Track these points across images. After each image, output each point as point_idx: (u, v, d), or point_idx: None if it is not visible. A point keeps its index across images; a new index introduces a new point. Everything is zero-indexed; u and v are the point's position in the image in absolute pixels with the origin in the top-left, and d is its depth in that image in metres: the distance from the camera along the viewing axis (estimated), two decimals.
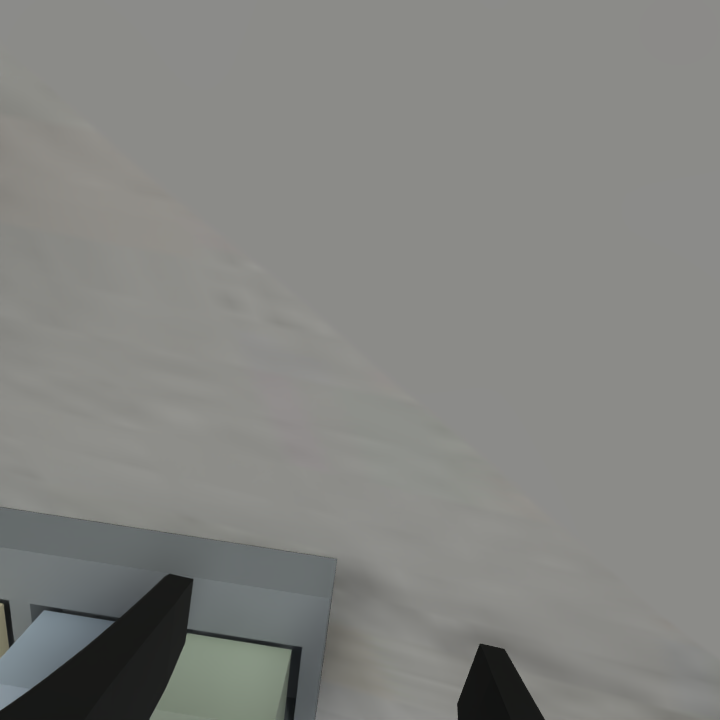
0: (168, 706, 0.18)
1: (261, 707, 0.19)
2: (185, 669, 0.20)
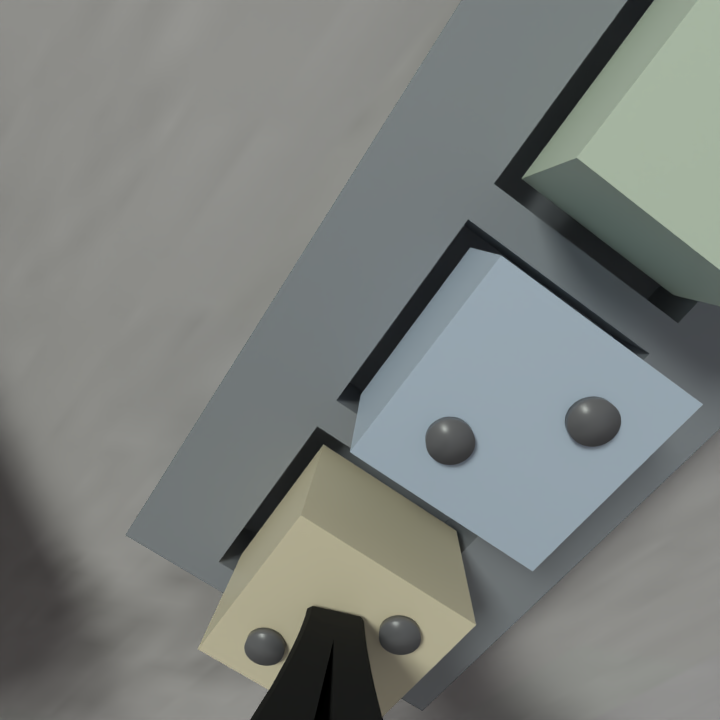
0: (600, 125, 0.08)
1: None
2: (565, 141, 0.09)
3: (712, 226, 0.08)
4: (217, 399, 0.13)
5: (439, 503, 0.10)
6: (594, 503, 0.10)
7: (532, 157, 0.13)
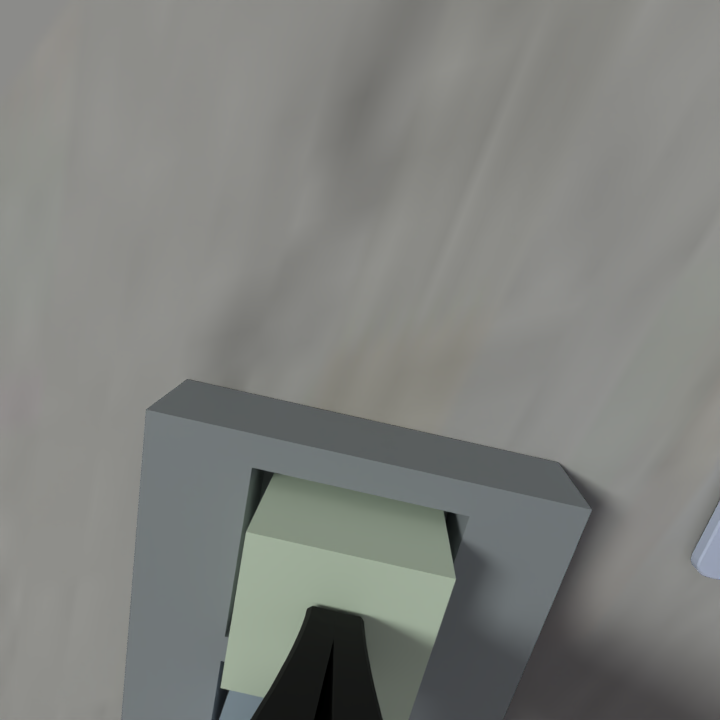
0: None
1: None
2: None
3: None
4: None
5: None
6: None
7: None
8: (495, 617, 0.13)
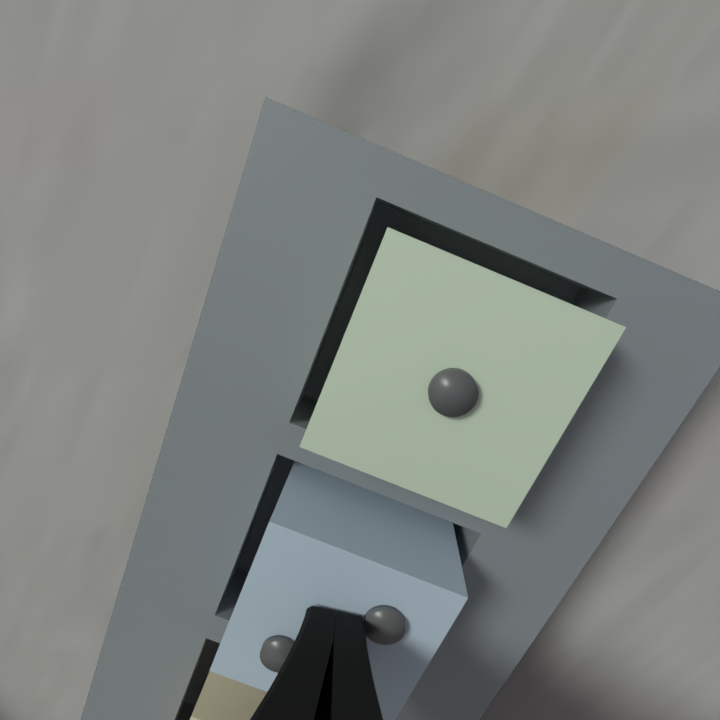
0: None
1: None
2: None
3: (419, 474, 0.10)
4: (112, 629, 0.14)
5: None
6: (413, 680, 0.11)
7: None
8: (611, 434, 0.11)
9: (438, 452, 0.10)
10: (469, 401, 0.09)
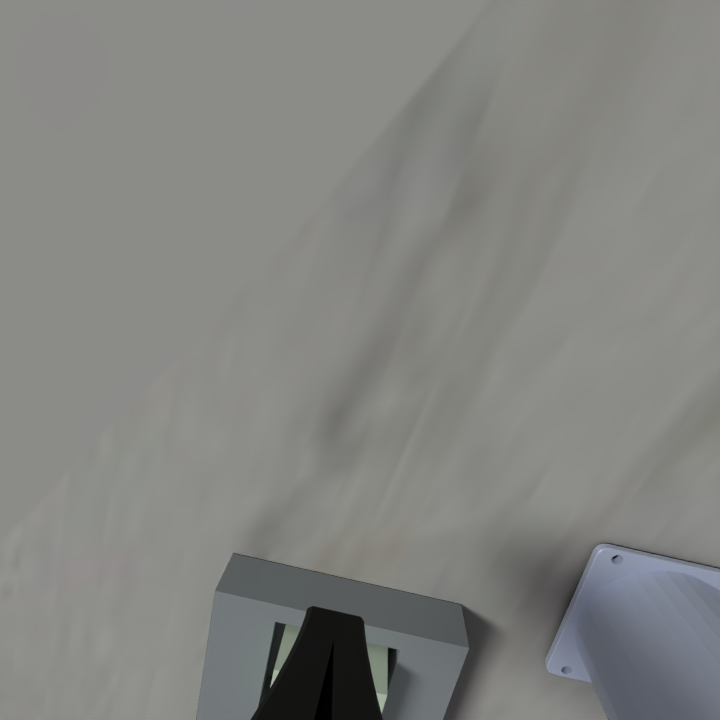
0: None
1: None
2: None
3: None
4: None
5: None
6: None
7: None
8: (418, 704, 0.22)
9: None
10: None
